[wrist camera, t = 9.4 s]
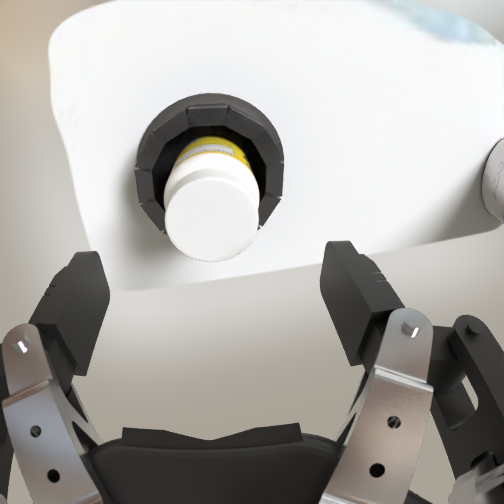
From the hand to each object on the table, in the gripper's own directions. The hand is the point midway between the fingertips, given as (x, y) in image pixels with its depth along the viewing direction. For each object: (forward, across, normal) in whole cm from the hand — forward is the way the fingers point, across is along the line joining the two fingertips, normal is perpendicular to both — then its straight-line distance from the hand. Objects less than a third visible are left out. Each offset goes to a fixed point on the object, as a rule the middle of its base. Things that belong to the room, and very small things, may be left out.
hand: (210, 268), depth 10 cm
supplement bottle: (+11, 0, 0) cm, 11 cm away
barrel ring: (+12, 0, 0) cm, 12 cm away
